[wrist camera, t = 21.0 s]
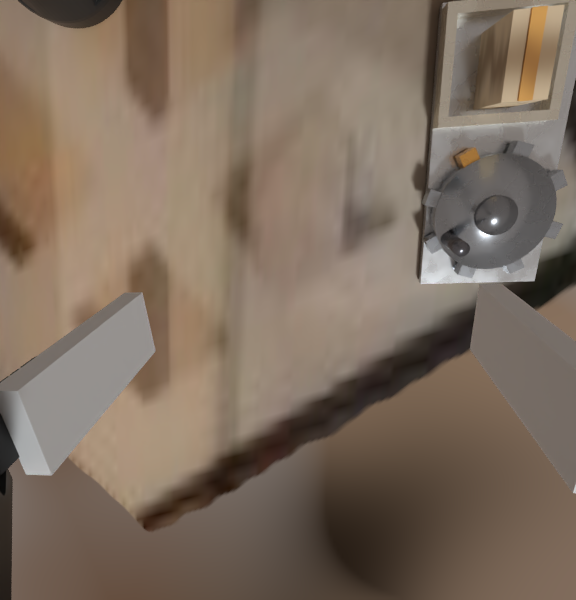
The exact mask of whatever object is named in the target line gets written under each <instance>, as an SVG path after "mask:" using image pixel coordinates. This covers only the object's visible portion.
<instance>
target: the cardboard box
mask: <svg viewBox="0 0 576 600" xmlns="http://www.w3.org/2000/svg"><path fill="white" fill-rule="evenodd" d="M564 6H565V5H555V6H539V7H532V8H526V9H517V10H513V11H512V12H510V13H509V14H507V15H506V16H505V17H503V18H502V19H501V20H499V21H498V22H497V23H495V24H494V25H492V26H491V27H490V28H488V29H487V30H486V31H484V32H483V33H482V35H481V44H480V53H479V62H478V71H477V80H476V89H475V97H474V106H473V110H478V109H491V108H505V107H514V106H519V105H523V104H528V103H532V102H537V101H541V100H546V99H548V95H549V89H550V84H551V78H552V73H553V67H554V61H555V56H556V50H557V45H558V39H559V33H560V28H561V22H562V17H563V11H564Z"/></svg>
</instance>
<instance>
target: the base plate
mask: <svg viewBox="0 0 576 600" xmlns="http://www.w3.org/2000/svg"><path fill="white" fill-rule="evenodd" d="M555 5H565V6H564V11H563V17H562V22H561V28H560V33H559V39H558V45H557V50H556V56H555V61H554V67H553V73H552V78H551V84H550V89H549V95H548V99H546V100H541V101H537V102H532V103H528V104H523V105H519V106H514V107H505V108H491V109H478V110H473V106H474V97H475V89H476V80H477V71H478V62H479V53H480V44H481V35H482V33H483V32H484V31H486V30H487V29H488V28H490V27H491V26H492V25H494V24H495V23H497V22H498V21H499V20H501V19H502V18H503V17H505V16H506V15H507V14H509V13H510V12H512V11H513V10H517V9H526V8H532V7H539V6H555ZM575 78H576V0H461V1H451V2H447V3H442V4H441V6H440V12H439V25H438V38H437V51H436V64H435V77H434V90H433V103H432V116H431V129H430V142H429V155H428V168H427V181H426V190H427V188H429V189H433V190H437V191H438V190H439V188H440V187H441V185H442V184H443V182H444V181H445V180H446V179H447V177H448V176H449V175H450V174H451V173H452V172H453V171H455V170H456V169H457V168H458V167H459V165H458V163H457V161H456V158H455V156H456V155H458V154H460V153H461V152H463V151H465V150H467V149H468V148H470V147H476V150H477V152H478V154H479V157H480V156H483V155H488V154H496V153H502V154H506V152H507V149H508V147H509V145H510V143H511V141H522V142H526V143H530V144H534V147H533V149H532V151H531V154H530V156H529V158H530V159H532V160H534V161H536V162H537V163H538V164H540V165H541V166H542V167H543V168H544V169H545V170H546V171H547V173H548V172H550V171H552V170H554V169H556V170H557V167H558V162H559V157H560V152H561V147H562V142H563V137H564V133H565V128H566V123H567V118H568V113H569V108H570V103H571V98H572V93H573V88H574V83H575ZM431 209H432V207H430V206H426V205H425V207H424V220H423V233H422V238H424V237H426V236H428V235H430V234H432V233H433V232H432V228H431ZM542 242H543V239H542V240H541V242H540V243H539V244H538V245H537V246H536V247H535V248H534V249H533V250H532V251H531V252H529V253H528V254H527V255H525V256H524V257H522V258H521V260H522V262H523V264H524V268H522V269H520V270H518V271H515V272H513V273H511V274H508V273H507V272H505V271H504V270H503V268H502V267H499V268H493V269H476V271H475V273H474V275H473V277H472V278H468V277H464V276H461V275H458V274H457V273H456V272H454V269H455V267H456V265H457V262H456V261H455V260H454V259H452V258H451V257H450V256H449V255H447V254H446V253H445V252H444V251H443V250H442V249H441V250H439V251H437V252H435V253H433V254H431V253H430V252H429V251H428V249H427V247H426V245H425V243H424V241H423V239H422V246H421V259H420V272H419V282H420V284H435V283H475V282H516V281H535V276H536V271H537V266H538V261H539V256H540V251H541V247H542Z"/></svg>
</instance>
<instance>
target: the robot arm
mask: <svg viewBox="0 0 576 600" xmlns="http://www.w3.org/2000/svg"><path fill="white" fill-rule="evenodd" d="M18 1H19V2H20V3H21V4H22V5H23V6H25V7H26V8H27V9H29V10H30V11H32V12H33V13H35V14H37V15H38V16H40V17H42V18H44V19H47V20H49V21H51V22H53V23H55V24H58V25H61V26H64V27H69V28H86V27H91V26H94V25H96V24H98V23H100V22H102V21H104V20H105V19H107V18H108V17H109V16H110V15H111V14H112V13H113V12H114V11H115V10H116V9H117V7H118V6H119V5H120V3H121V1H122V0H18ZM470 350H471V351H472V353H473V354H474V356H475V357H476V358H477V360H478V361H479V363H480V364H481V365H482V367H483V368H484V369H485V371H486V372H487V374H488V375H489V377H490V378H491V379H492V381H493V382H494V384H495V385H496V386H497V388H498V389H499V391H500V392H501V393H502V395H503V396H504V398H505V399H506V400H507V402H508V403H509V405H510V406H511V407H512V409H513V410H514V412H515V413H516V414H517V416H518V417H519V418H520V420H521V421H522V423H523V424H524V425H525V427H526V428H527V429H528V431H529V432H530V434H531V435H532V437H533V438H534V439H535V441H536V442H537V444H538V445H539V446H540V448H541V449H542V450H543V452H544V453H545V455H546V456H547V458H548V459H549V460H550V462H551V463H552V465H553V466H554V467H555V469H556V470H557V472H558V473H559V474H560V476H561V477H562V479H563V480H564V481H565V483H566V484H567V486H568V487H569V488H570V490H571V491H572V493H576V341H574V340H573V339H572V338H571V337H569V336H568V335H567V334H565V333H564V332H563V331H561V330H560V329H559V328H558V327H556V326H555V325H554V324H552V323H551V322H550V321H549V320H547V319H546V318H545V317H543V316H542V315H541V314H540V313H538V312H537V311H536V310H534V309H533V308H532V307H531V306H529V305H528V304H527V303H525V302H524V301H523V300H521V299H520V298H519V297H518V296H516V295H515V294H514V293H512V292H511V291H510V290H509V289H507V288H506V287H505V286H503V285H502V284H479V290H478V297H477V304H476V311H475V318H474V325H473V332H472V339H471V346H470ZM154 352H155V347H154V342H153V338H152V333H151V329H150V325H149V320H148V316H147V311H146V307H145V302H144V298H143V293H142V292H140V293H124V294H122V295H121V296H120V297H118V298H117V299H115V300H114V301H113V302H111V303H110V304H109V305H107V306H106V307H104V308H103V309H102V310H100V311H99V312H97V313H96V314H95V315H93V316H92V317H91V318H89V319H88V320H86V321H85V322H84V323H82V324H81V325H79V326H78V327H77V328H75V329H74V330H73V331H71V332H70V333H68V334H67V335H66V336H64V337H63V338H61V339H60V340H59V341H57V342H56V343H55V344H53V345H52V346H50V347H49V348H48V349H46V350H45V351H44V352H42V353H41V354H39V355H38V356H36V357H34V358H33V359H31V360H30V361H28V362H27V363H26V364H24V365H23V366H21V368H20V369H17V370H16V371H14V372H13V373H12V374H10V376H9V377H6V378H5V379H3V380H2V381H1V382H0V600H11V571H12V570H11V568H12V561H11V560H12V477H11V475H10V472H9V470H8V468H9V467H10V466H11V465H12V463H14V462H15V461H16V460H17V459H18V458H19V460H20V462H21V464H22V467H23V469H24V471H25V473H26V475H53V473H54V472H55V471H56V470H57V469H58V467H59V466H60V465H61V464H62V463H63V461H64V460H65V459H66V458H67V457H68V455H69V454H70V453H71V452H72V451H73V449H74V448H75V447H76V446H77V445H78V443H79V442H80V441H81V440H82V439H83V437H84V436H85V435H86V434H87V433H88V431H89V430H90V429H91V428H92V427H93V425H94V424H95V423H96V422H97V421H98V419H99V418H100V417H101V416H102V415H103V413H104V412H105V411H106V410H107V409H108V408H109V406H110V405H111V404H112V403H113V402H114V400H115V399H116V398H117V397H118V396H119V394H120V393H121V392H122V391H123V390H124V388H125V387H126V386H127V385H128V384H129V382H130V381H131V380H132V379H133V378H134V376H135V375H136V374H137V373H138V372H139V370H140V369H141V368H142V367H143V366H144V364H145V363H146V362H147V361H148V360H149V358H150V357H151V356H152V355H153V354H154Z"/></svg>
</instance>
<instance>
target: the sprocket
mask: <svg viewBox="0 0 576 600" xmlns="http://www.w3.org/2000/svg"><path fill="white" fill-rule="evenodd" d="M533 147H534V144H530V143H526V142H522V141H511V143H510V145H509V147H508V149H507V152H506V154H502V153H496V154H488V155H483V156H480V157H479V154H478V152H477V150H476V147H470V148H468V149H467V150H465V151H463V152H461V153H460V154H458V155H456V156H455V158H456V161H457V163H458V165H459V167H458V168H457V169H456V170H455V171H453V172H452V173H451V174H450V175H449V176H448V177H447V179H446V180H445V181H444V182H443V184H442V185H441V187H440V188H439V190H438V191H437V190H433V189H429V188H427V190H426V193H425V195H424V198H423V201H422V204H424V205H426V206H430V207H432V209H431V228H432V232H433V233H432V234H430V235H428V236H426V237H424V238H422V239H423V241H424V243H425V245H426V247H427V249H428V251H429V252H430V253H431V254H433V253H435V252H437V251H439V250H441V249H442V250H443V251H444V252H445V253H446V254H447V255H449V256H450V257H451V258H452V259H454V260H455V261H456V262H457V265H456V267H455V269H454V272H456V273H457V274H458V275H461V276H464V277H468V278H472V277H473V275H474V273H475V271H476V269H493V268H499V267H502V268H503V270H504V271H505V272H507V273H508V274H511V273H513V272H515V271H518V270H520V269H522V268H524V264H523V262H522V260H521V258H522V257H524V256H525V255H527V254H528V253H529V252H531V251H532V250H533V249H534V248H535V247H536V246H537V245H538V244H539V243H540V242H541V240H542V239H543V238H544V236H545V237H549V238H553V239H555V238H556V236H557V234H558V233H559V231H560V229H561V227H562V225H563V224H562V223H559V222H556V221H553V218H554V215H555V210H556V191H557V190H559V189H561V188H563V187H565V186H567V182H566V179H565V176H564V173H563V170H556V169H554V170H552V171H550V172H548V173H547V171H546V170H545V169H544V168H543V167H542V166H541V165H540V164H538V163H537V162H536V161H534V160H532V159H530V158H529V156H530V154H531V151H532V149H533Z"/></svg>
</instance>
